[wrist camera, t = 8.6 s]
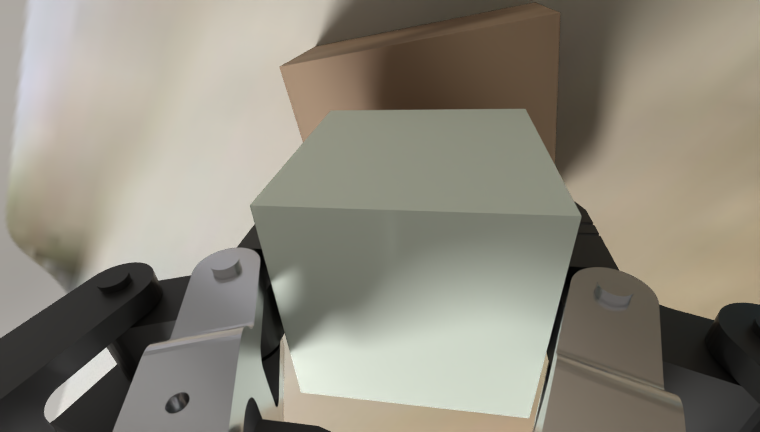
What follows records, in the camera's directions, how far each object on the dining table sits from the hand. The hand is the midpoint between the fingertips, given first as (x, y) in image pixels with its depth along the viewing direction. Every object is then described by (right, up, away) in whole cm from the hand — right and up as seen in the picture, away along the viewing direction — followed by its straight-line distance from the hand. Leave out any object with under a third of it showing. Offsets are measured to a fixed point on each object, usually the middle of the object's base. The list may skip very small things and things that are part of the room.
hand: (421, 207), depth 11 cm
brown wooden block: (+1, +3, +6) cm, 7 cm away
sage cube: (0, 0, +1) cm, 1 cm away
